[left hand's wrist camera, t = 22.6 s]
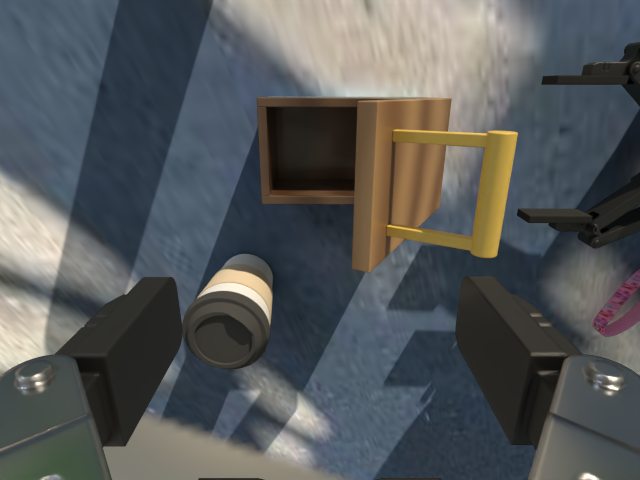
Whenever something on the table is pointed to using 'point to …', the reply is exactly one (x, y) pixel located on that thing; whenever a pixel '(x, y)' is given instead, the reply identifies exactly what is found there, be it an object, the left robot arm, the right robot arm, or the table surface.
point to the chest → (309, 148)
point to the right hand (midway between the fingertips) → (535, 152)
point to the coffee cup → (232, 314)
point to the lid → (420, 179)
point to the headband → (614, 305)
